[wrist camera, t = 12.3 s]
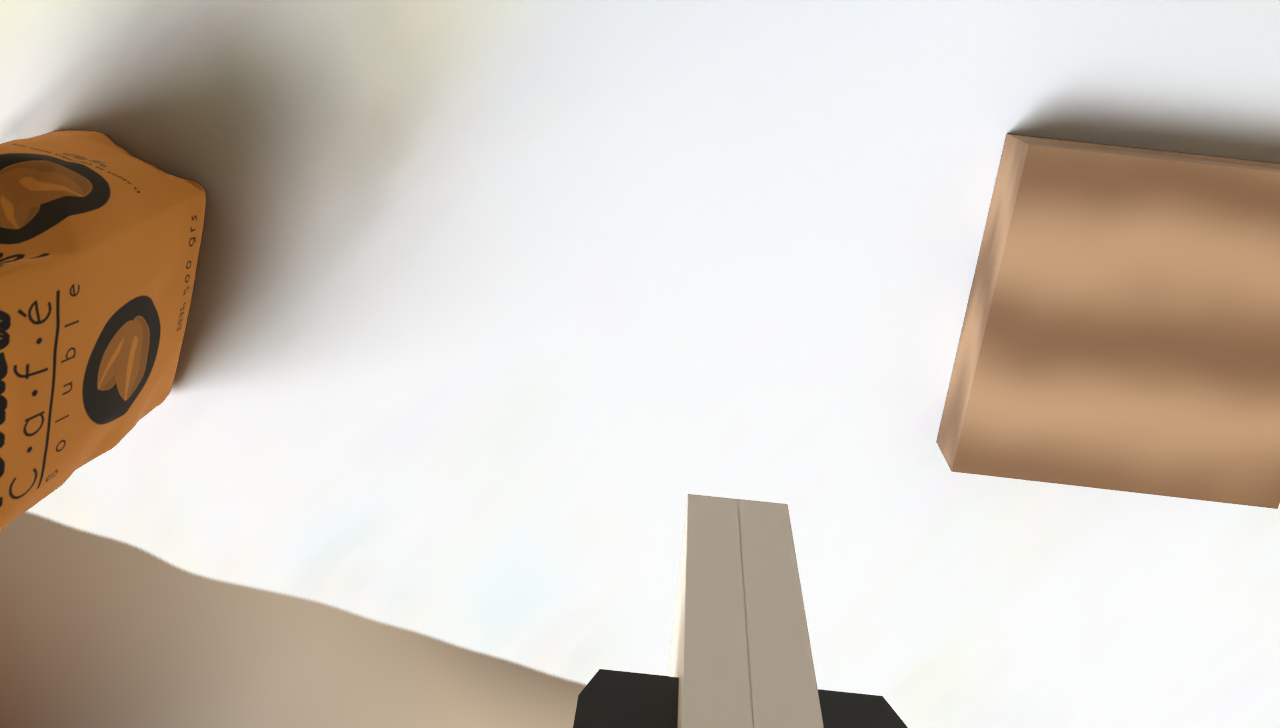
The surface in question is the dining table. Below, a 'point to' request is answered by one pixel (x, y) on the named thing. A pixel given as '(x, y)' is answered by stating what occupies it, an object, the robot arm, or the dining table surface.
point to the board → (1124, 325)
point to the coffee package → (85, 302)
